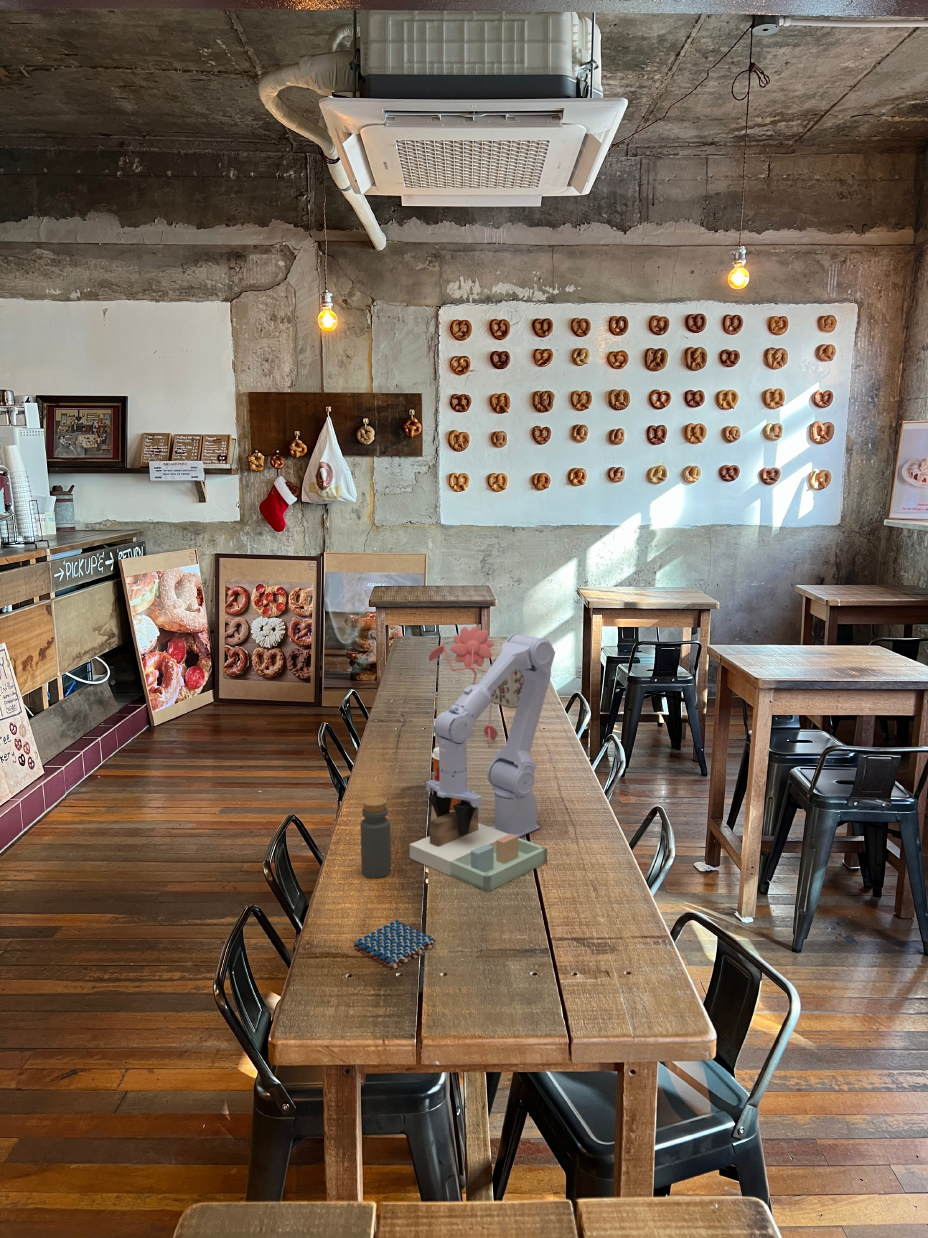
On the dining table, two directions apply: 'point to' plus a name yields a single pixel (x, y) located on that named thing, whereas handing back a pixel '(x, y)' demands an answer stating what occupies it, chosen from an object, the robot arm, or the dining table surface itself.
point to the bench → (454, 848)
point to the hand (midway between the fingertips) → (453, 830)
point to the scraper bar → (449, 828)
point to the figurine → (470, 658)
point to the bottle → (375, 838)
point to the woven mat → (394, 944)
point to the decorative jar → (508, 690)
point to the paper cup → (437, 773)
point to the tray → (501, 867)
